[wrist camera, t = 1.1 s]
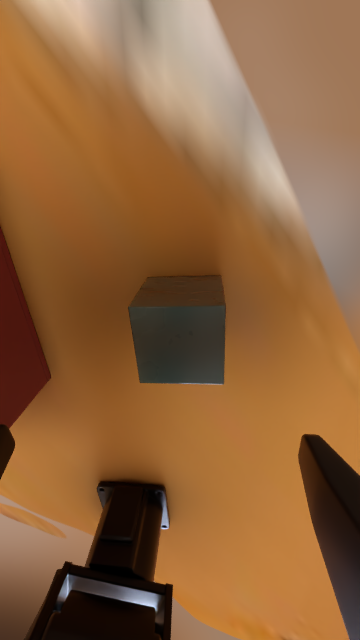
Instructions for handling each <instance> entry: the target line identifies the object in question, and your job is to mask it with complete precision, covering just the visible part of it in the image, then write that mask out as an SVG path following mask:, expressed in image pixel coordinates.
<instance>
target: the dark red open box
mask: <svg viewBox="0 0 360 640" xmlns="http://www.w3.org/2000/svg"><path fill="white" fill-rule="evenodd" d="M50 378H51V376H50V373H49V370H48V367H47V364H46V361H45V358H44V355H43V352H42V349H41V346H40V343H39V340H38V337H37V334H36V331H35V328H34V325H33V322H32V319H31V316H30V313H29V310H28V308H27V305H26V302H25V299H24V296H23V293H22V290H21V287H20V284H19V281H18V278H17V275H16V272H15V269H14V266H13V263H12V260H11V257H10V254H9V251H8V248H7V245H6V242H5V239H4V236H3V233H2V230H1V227H0V424H5V425H7V426H8V428H10V427H11V426H12V425H13V423H14V422H15V421H16V420H17V419H18V417H19V416H20V415H21V414H22V412H23V411H24V410H25V409H26V407H27V406H28V405H29V404H30V403H31V401H32V400H33V399H34V398H35V396H36V395H37V394H38V393H39V392H40V390H41V389H42V388H43V387H44V385H45V384H46V383H47V381H49V379H50Z"/></svg>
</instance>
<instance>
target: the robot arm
mask: <svg viewBox="0 0 360 640" xmlns="http://www.w3.org/2000/svg"><path fill="white" fill-rule="evenodd" d="M14 448H15V441H14V438H13V436H12V434H11V432H10V430H9V428H8V426H7V425H5V424H0V479H1V477H2V475H3V473H4V470H5V468H6V466H7V464H8V462H9V460H10V457H11V455H12V453H13V451H14ZM298 458H299V465H300V469H301V474H302V479H303V483H304V488H305V492H306V497H307V502H308V506H309V511H310V515H311V519H312V523H313V527H314V530H315V534H316V537H317V540H318V543H319V546H320V549H321V552H322V555H323V558H324V561H325V565H326V568H327V571H328V574H329V577H330V580H331V583H332V586H333V589H334V593H335V596H336V599H337V602H338V605H339V608H340V611H341V614H342V617H343V620H344V624H345V627H346V630H347V633H348V636H349V639H350V640H360V476H359V475H358V474H357V473H356V472H355V471H354V470H353V469H352V468H351V467H350V466H349V465H348V464H347V463H346V462H345V461H344V460H343V459H342V458H341V457H340V456H339V455H338V454H337V453H336V452H335V451H334V450H333V449H332V448H331V447H330V446H329V445H328V444H327V443H326V442H325V441H324V440H323V439H322V438H321V437H320V436H319V435H314V434H304V435H303V436H302V438H301V443H300V448H299V454H298ZM97 492H98V495H99V498H100V501H101V504H102V507H103V512H102V515H101V518H100V521H99V524H98V527H97V530H96V533H95V536H94V540H93V543H92V545H91V549H90V552H89V555H88V558H87V561H86V564H85V567H82V566H78V565H73V564H72V562H67V561H65V563H64V566H63V568H62V569H58V570H57V571H56V574H55V576H54V579H53V582H52V584H51V586H50V589H49V591H48V594H47V596H46V598H45V600H44V602H43V604H42V606H41V608H40V610H39V612H38V614H37V616H36V618H35V619H34V621H33V624H32V625H31V627H30V629H29V631H28V633H27V635H26V637H25V639H24V640H170V638H171V614H172V592H173V585H172V584H167V583H166V585H164V584H160V583H155V582H153V581H154V574H155V567H156V559H157V552H158V545H159V538H160V531H161V529H168V528H169V524H170V521H169V513H168V506H167V498H166V491H165V488H164V487H162V486H155V485H139V484H123V483H107V482H100V483H99V484H98V486H97Z"/></svg>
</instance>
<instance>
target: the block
mask: <svg viewBox="0 0 360 640" xmlns="http://www.w3.org/2000/svg"><path fill="white" fill-rule="evenodd" d="M128 309H129V316H130V322H131V329H132V335H133V341H134V348H135V354H136V361H137V367H138V374H139V380H140V383H174V384H224V365H225V318H226V305H225V297H224V290H223V282H222V276H221V275H220V276H180V277H148V278H147V279H146V281H145V282H144V284H143V285H142V287H141V288H140V290H139V291H138V293H137V295H136V296H135V298H134V299H133V301H132V302H131V304H130V305H129V307H128Z"/></svg>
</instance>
